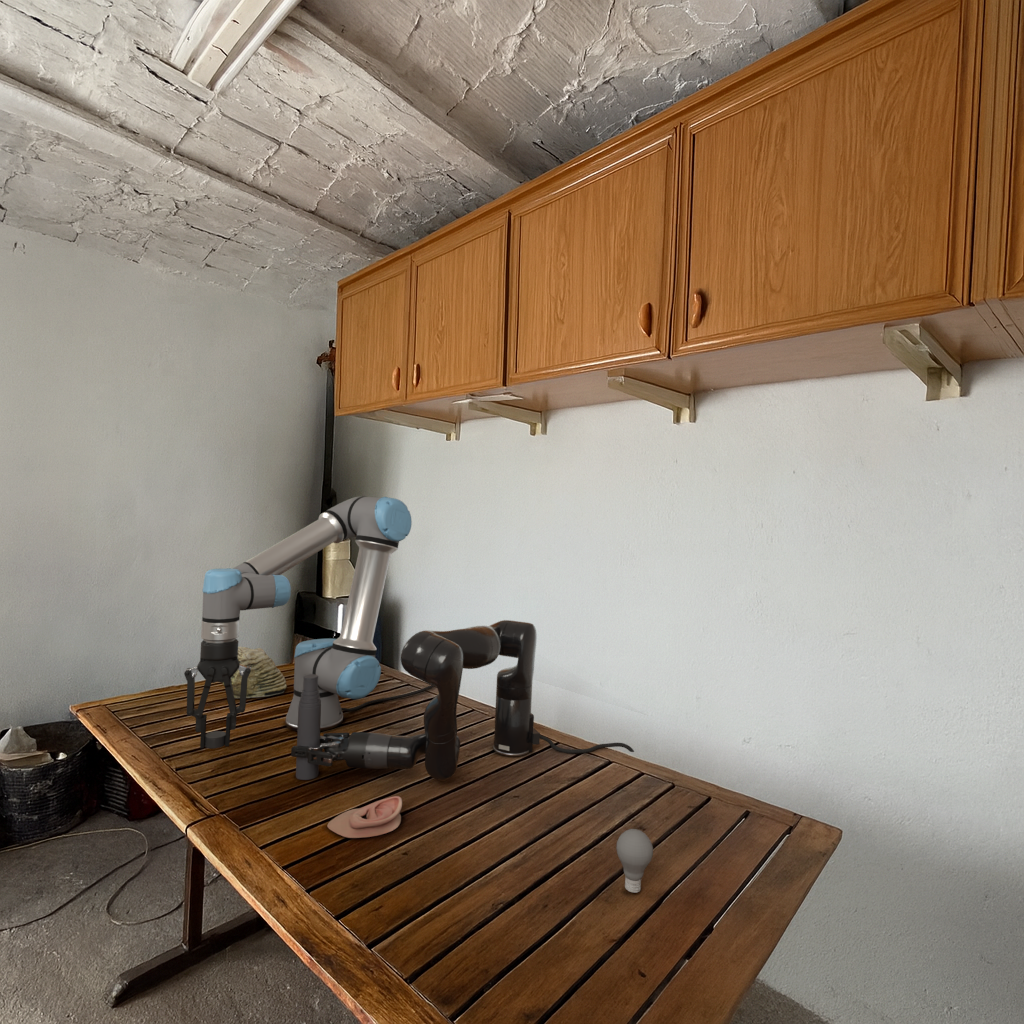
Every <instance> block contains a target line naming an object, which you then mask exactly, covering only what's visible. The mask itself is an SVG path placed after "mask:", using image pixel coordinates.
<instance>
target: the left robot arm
mask: <svg viewBox="0 0 1024 1024" xmlns="http://www.w3.org/2000/svg"><path fill="white" fill-rule="evenodd" d="M412 522H413V521H412V514H411V512H410V510H409V509H408V506H407V505H406V504H405V503H404V501H402V500H401V499H397V498H393V497H389V496H365V495H360V496H353V497H352V498H348V499H345V500H344V501H342V502H340V503H338V504H335V505H334V506H332V507H330V508H328V509H327V510H325V511H323V512H322V513H320V514H319V516H318V519H317V520H315V521H313V522H311V523H310V524H308V525H306V526H304V527H302V528H301V529H299V530H298V531H296V532H294V533H293V534H291V535H289V536H287V537H286V538H284V539H282V540H280V541H278V542H277V543H275V544H273V545H272V546H270V547H268V548H265V550H263V551H261V552H259V553H257V554H255V555H254V556H253V557H251V558H249V559H247V560H245V561H244V562H242V563H239V564H238V565H236V566H234V567H233V568H212V569H211V568H210V569H209V570H207V571H206V572H205V573H204V579H203V584H202V585H203V586H202V613H201V614H202V615H201V631H200V633H201V635H200V638H201V639H202V641H201V642H200V653H199V654H200V657H199V662H197V663H198V664H197V665H196V666H194V667H187V668H186V669H185V671H184V677H185V679H186V715H187V716H188V717H194V718H195V728H194V730H195V732H196V733H200V740H199V741H200V742H199V749H205V746H204V744H205V735H206V734H207V713H205V714H204V710H205V707H206V704H207V700H208V696H209V694H210V690H211V687H212V684H215V683H222V684H223V682H224V685H223V687H224V691H225V695H226V700H227V706H228V711H229V712H227V713H226V717H225V718H226V719H225V721H226V722H225V732H226V738H225V746H224V747H225V748H226V747H230V742H231V731H235V729H236V727H237V715H239V714H242V713H244V712H245V711H246V708H247V707H246V706H247V698H246V694H247V680H248V676H249V674H250V672H251V666H244V665H241V664H240V662H239V660H238V647H239V640H238V639H237V638H239V636H240V635H239V634H240V617H241V611H249V610H259V609H269V608H271V609H274V608H278V607H282V606H285V605H286V604H288V602H289V600H290V599H291V595H292V593H291V591H292V586H291V582H290V581H289V579H288V578H287V577H286V576H285V575H282V574H284V573H286V572H288V571H289V570H290V569H293V568H294V567H296V566H297V565H299V564H301V563H302V562H304V561H305V560H307V559H308V558H310V557H312V556H314V555H315V554H317V553H318V552H320V551H322V550H323V549H325V548H327V547H328V546H330V545H331V544H340V543H342V542H344V541H345V540H347V539H352V538H355V540H354V543H356V545H357V547H358V553H357V558H356V563H355V567H354V572H353V577H352V580H351V586H350V591H349V595H348V599H347V603H346V608H345V612H344V618H343V622H342V627H341V631H340V635H339V637H337V638H317V639H316V638H315V639H308V640H304V641H300V642H299V643H298V644H297V645H296V646H295V650H294V655H293V657H294V672H293V673H294V674H293V695H292V696H293V697H292V699H291V702H290V704H289V708H288V711H287V713H286V715H285V726H286V728H287V729H289V730H291V731H294V732H295V731H296V732H297V730H298V705H299V701H300V697H301V693H302V690H303V683H304V679H303V677H304V676H305V675H309V674H315V675H318V689H319V696H320V700H321V723H320V732H325V731H329V730H332V729H335V728H337V727H339V726H340V725H342V723H343V722H344V714H343V712H354V711H357V710H359V709H362V708H364V707H365V706H369V705H372V704H376V703H381V702H386V701H387V702H388V701H393V700H396V699H403V698H407V697H410V696H414V695H417V694H420V693H422V692H425V691H427V690H429V689H432V688H434V687H435V686H432V685H431V686H430V685H427V686H425V687H423V688H420V689H418V690H415V691H411V692H408V693H402V694H399V695H394V696H393V695H392V696H388V697H382V698H377V699H372V700H369V701H366V702H363V703H361V704H360V705H357V706H355V707H342V706H341V702H340V699H339V697H341V698H344V699H351V700H360V699H364V698H366V697H367V696H369V695H370V693H371V692H373V691H374V690H375V688H376V687H377V685H378V684H379V682H380V679H381V674H382V666H381V665H380V662H379V660H378V658H376V654H377V647H376V645H375V644H374V636H375V632H376V627H377V622H378V617H379V612H380V607H381V603H382V598H383V594H384V590H385V589H384V588H385V584H386V579H387V574H388V569H389V564H390V560H391V555H392V554H393V553H395V552H396V551H398V549H399V544H400V542H402V541H403V540H405V539H406V538H407V537H408V536H409V534H410V532H411V529H412V525H413V523H412ZM237 670H239V671H240V675H241V676H242V679H241V691H240V698H239V704H238V706H237V704H236V703H237V702H236V698H234V693H233V687H232V681H231V677H232V676H233V675H234V673H235V672H236V671H237ZM198 672H199V673H200V675H201V676H202V677H203V678H204V680H205V681H204V685H203V688H202V692H201V695H200V699H199V702H198V706H197V708H195V700H196V699H195V697H196V696H195V695H196V693H195V691H196V689H195V688H196V677H197V676H198Z"/></svg>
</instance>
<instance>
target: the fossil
mask: <svg viewBox="0 0 1024 1024" xmlns="http://www.w3.org/2000/svg"><path fill="white" fill-rule="evenodd" d="M238 660H239V662H240V664H241V665H244V666H251V672H250V674H249V676H248V680H247V694H246V699H250V698H264V697H271V696H275V695H281V694H284V693H285V691H286V689H287V687H288V686H287V680H286V678H285V676H284V674H283V673H282V672H281V669H279V668H278V667H277V665H276V663H275V662H274V660H273V659H272V658H271V657H270V656H269V655H268V654H267V653H266V652H265V650H264V649H263V648H260V647H258V648H251V647H247V646H246V647H245V646H238ZM241 679H242V676H241V675H240V671H239V670H237V671H236V672H235V673H234V675H233V676H232V677H231V681H232V687H233V693H234V698H235V699H240V691H241ZM222 685H223V686H224V682H223V683H222Z"/></svg>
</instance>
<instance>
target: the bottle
mask: <svg viewBox="0 0 1024 1024" xmlns="http://www.w3.org/2000/svg"><path fill="white" fill-rule="evenodd" d="M303 679H304V683H303V690H302V693H301V697H300V701H299V705H298V730H297V731H296V732H297V733H296V746H308V747H314V746H319V745H320V736H321V731H320V723H321V700H320V696H319V689H318V675H315V674H309V675H305V676H304V677H303ZM315 751H319V750H315ZM295 759H296V761H295V762H296V763H295V778H296V779H297V780H301V781H309V780H313V779H317V778H318V776H319V771H320V765H317V764H311V763H308V762H307V761H308V758H306V757H295ZM315 760H317V759H315Z"/></svg>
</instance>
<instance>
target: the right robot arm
mask: <svg viewBox="0 0 1024 1024" xmlns="http://www.w3.org/2000/svg"><path fill="white" fill-rule="evenodd" d="M537 635H538V634H537V629H536V626H535V624H533V623H531V622H527V621H526V622H525V621H518V620H511V619H510V620H509V619H503V620H500V621H499V620H498V621H497V622H495V623H492V624H490V625H476V626H469V627H465V628H458V629H451V630H427V629H426V630H425V629H424V630H421V631H419V632H416V633H415V634H413V635H412V636H411V637H410V638H409V639H408V640H407V641H406V642H405V644H404V645H403V647H402V649H401V652H400V664H401V666H402V668H403V670H404V671H405V672H406V673H408V674H409V675H411V676H412V677H413V678H416V679H417V680H420V681H422V682H424V683H426V684H428V685H429V686H430V685H432V686H434V687H435V688H436V689H437V692H438V694H436V696H434V697H433V698H432V699H431V700H430V701H429V702H428V703H427V705H426V707H425V709H424V712H423V729H424V733H418V734H415V735H414V734H413V735H393V734H386V733H378V732H361V731H360V732H359V731H353V732H352V733H350V732H324V733H323V734H322V735H320V745H319V746H314V747H308V746H297V745H293V746H291V748H290V755H291V757H292V758H296V757H306V758H308V761H307V762H308V763H311V764H317V765H319V766H324V767H333V762H338V761H345V762H346V766H347V767H348V768H350V769H351V768H352V769H354V768H355V769H371V770H383V769H393V770H412V769H413V768H414V767H415V765H417V761H418V760H419V758H420V757H421V756H423V755H424V766H425V770H426V772H427V774H428V775H429V776H430V777H431V778H432V779H434V780H436V781H439V782H442V781H443V782H444V781H447V780H449V779H451V778H452V777H453V776H454V775H455V774H456V772H457V769H458V765H459V758H460V757H459V755H460V750H461V739H460V737H459V736H458V717H457V707H458V700H459V695H460V690H461V685H462V677H463V670H464V669H465V670H475V669H480V668H482V667H487V666H488V665H490V664H492V663H494V662H495V661H496V660H497V659H498V657H499V656H501V657H509V658H513V659H517V662H516V665H514V666H510V667H506V668H502V669H501V670H499V671H498V672H497V674H496V687H495V688H496V689H495V709H494V710H495V712H494V713H495V715H494V731H493V732H494V734H493V735H494V736H493V749H492V750H493V751H494V752H495V753H496V754H498V755H501V756H506V757H522V756H526V755H527V754H528V753H529V754H530V753H533V746H534V745H536V746H537V745H540V742H541V740H543V741H544V742H547V743H548V744H549V746H550V747H551V748H552V749H553V750H555V751H557V752H560V753H565V754H588V753H591V752H594V751H596V750H599V749H605V748H616V747H617V748H618V747H619V748H624V749H626V750H627V751H628V752H630V753H634V752H635V750H634V749H633V748H632V747H631V746H630V745H628V744H627V743H623V742H609V743H599V744H596V745H593V746H591V747H589V748H578V749H571V748H563V747H560V746H558V745H556V744H555V743H554V742H553V741H552V739H550V738H549V737H547V736H545V735H542V734H541V733H540V732H539V731H538V730H537V729H536V728H535V727H534V725H535V724H534V723H535V715H534V714H533V713H532V703H533V702H532V698H533V679H534V673H535V661H536V651H537V642H538V641H537V639H538V638H537V637H538V636H537ZM315 750H319V751H315ZM315 759H317V760H315Z"/></svg>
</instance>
